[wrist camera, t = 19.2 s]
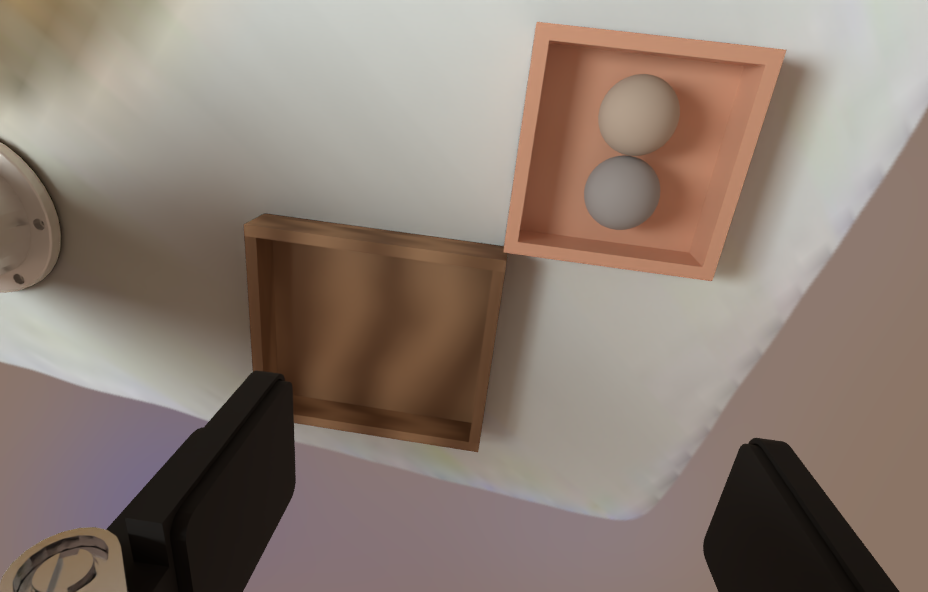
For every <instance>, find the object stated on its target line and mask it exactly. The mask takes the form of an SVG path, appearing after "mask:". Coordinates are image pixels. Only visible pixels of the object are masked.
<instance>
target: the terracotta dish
mask: <svg viewBox="0 0 928 592" xmlns="http://www.w3.org/2000/svg"><path fill="white" fill-rule="evenodd" d="M785 53H786V50H783V49H774V48H765V47H756V46H747V45H738V44H729V43H721V42H712V41H703V40H694V39H685V38H676V37H667V36H658V35H649V34H640V33H631V32H622V31H614V30H605V29H596V28H587V27H578V26H569V25H560V24H551V23H542V22H537V24H536V28H535V35H534V42H533V49H532V56H531V63H530V70H529V77H528V83H527V90H526V97H525V104H524V111H523V118H522V125H521V132H520V138H519V145H518V152H517V159H516V166H515V173H514V180H513V187H512V194H511V200H510V207H509V214H508V221H507V228H506V235H505V243H504V251H503V252H504V253H511V254H519V255H526V256H533V257H540V258H548V259H555V260H562V261H570V262H577V263H584V264H591V265H599V266H606V267H613V268H620V269H628V270H635V271H642V272H650V273H657V274H664V275H671V276H679V277H686V278H693V279H700V280H708V281H712V280H713V277H714V274H715V271H716V268H717V264H718V261H719V258H720V255H721V252H722V249H723V246H724V243H725V240H726V236H727V233H728V230H729V227H730V224H731V221H732V218H733V215H734V212H735V209H736V205H737V202H738V199H739V196H740V193H741V190H742V187H743V184H744V181H745V177H746V174H747V171H748V168H749V165H750V162H751V159H752V156H753V153H754V149H755V146H756V143H757V140H758V137H759V134H760V131H761V128H762V125H763V122H764V118H765V115H766V112H767V109H768V106H769V103H770V100H771V97H772V94H773V90H774V87H775V84H776V81H777V78H778V75H779V72H780V69H781V66H782V62H783V59H784V56H785ZM637 74H649V75H654V76H657V77H659V78H661V79H663V80H665V81H666V82H667V83H668V84H669V85H670V86H671V87H672V88H673V90H674V91H675V93H676V95H677V97H678V100H679V105H680V117H679V122H678V125H677V127H676V130H675V132H674V133H673V135H672V136H671V138H670V139H669V140H668V141H667V142H666V143H665V144H664V145H663V146H662V147H660V148H659V149H657V150H656V151H654V152H652V153H649V154H646V155H641V156H633V157H636V158H639V159H641V160H643V161H645V162H646V163H648V164H649V165H650V166H651V167H652V168H653V170H654V171H655V173H656V175H657V177H658V179H659V183H660V198H659V202H658V205H657V207H656V209H655V211H654V212H653V214H652V215H651V216H650V217H649V218H648V219H647V220H646V221H645V222H643V223H642V224H640V225H638V226H636V227H634V228H630V229H626V230H615V229H610V228H607V227H604V226H602V225H601V224H599V223H598V222H597V221H595V220H594V219H593V218H592V216H591V215H590V214H589V212H588V210H587V208H586V205H585V200H584V189H585V185H586V182H587V179H588V177H589V175H590V174H591V172H592V171H593V170H594V169H595V168H596V167H597V166H598V165H599V164H600V163H602V162H603V161H605V160H607V159H609V158H612V157H615V156H622V155H625V154H622V153H619V152H617V151H615V150H614V149H612V148H611V147H610V146H609V145H608V144H607V143H606V142H605V140H604V138H603V137H602V135H601V132H600V129H599V123H598V115H599V109H600V106H601V103H602V101H603V99H604V97H605V95H606V94H607V92H608V91H609V90H610V89H611V88H612V87H613V86H614V85H615V84H616V83H618V82H619V81H621V80H623V79H624V78H627V77H629V76H633V75H637ZM626 156H629V155H626Z"/></svg>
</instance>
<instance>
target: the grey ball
mask: <svg viewBox="0 0 928 592" xmlns="http://www.w3.org/2000/svg"><path fill="white" fill-rule="evenodd" d="M659 198H660V183H659V179H658V177H657V175H656V173H655V171H654V170H653V168H652V167H651V166H650V165H649V164H648V163H646V162H645V161H643V160H641V159H639V158H636V157H633V156H626V155H622V156H615V157H612V158H609V159H607V160H605V161H603V162H602V163H600V164H599V165H598V166H597V167H596V168H595V169H594V170H593V171H592V172H591V174H590V175H589V177H588V179H587V182H586V185H585V189H584V200H585V205H586V208H587V210H588V212H589V214H590V215H591V216H592V218H593V219H594V220H595V221H597V222H598V223H599V224H601V225H602V226H604V227H607V228H610V229H615V230H626V229H630V228H634V227H636V226H638V225H640V224H642V223H643V222H645V221H646V220H647V219H648V218H649V217H650V216H651V215H652V214H653V212H654V211H655V209H656V207H657V205H658V202H659Z"/></svg>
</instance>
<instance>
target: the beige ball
mask: <svg viewBox="0 0 928 592" xmlns="http://www.w3.org/2000/svg"><path fill="white" fill-rule="evenodd" d="M679 117H680V105H679V100H678V97H677V95H676V93H675V91H674V90H673V88H672V87H671V86H670V85H669V84H668V83H667V82H666V81H665V80H663V79H661V78H659V77H657V76H654V75H649V74H637V75H633V76H629V77H627V78H624V79H623V80H621V81H619V82H618V83H616V84H615V85H614V86H613V87H612V88H611V89H610V90H609V91H608V92H607V94H606V95H605V97H604V99H603V101H602V103H601V106H600V109H599V115H598V123H599V129H600V132H601V135H602V137H603V138H604V140H605V142H606V143H607V144H608V145H609V146H610V147H611V148H612V149H614V150H615V151H617V152H619V153H622V154H625V155H629V156H641V155H646V154H649V153H652V152H654V151H656V150H657V149H659V148H660V147H662V146H663V145H664V144H665V143H666V142H667V141H668V140H669V139H670V138H671V136H672V135H673V133H674V132H675V130H676V127H677V125H678V122H679Z"/></svg>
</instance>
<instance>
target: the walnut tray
mask: <svg viewBox="0 0 928 592" xmlns="http://www.w3.org/2000/svg"><path fill="white" fill-rule="evenodd" d="M244 237H245V253H246V269H247V285H248V301H249V317H250V333H251V349H252V365H253V371H256V370H257V371H265V372H272V373H280V374H283V375H284V378H285V381H287V382H291V383H292V387H293V415H294V423H298V424H304V425H311V426H317V427H323V428H329V429H336V430H342V431H348V432H354V433H361V434H367V435H373V436H379V437H386V438H392V439H398V440H405V441H411V442H417V443H423V444H430V445H436V446H442V447H448V448H455V449H461V450H467V451H474V452H478V450H479V443H480V436H481V430H482V423H483V416H484V409H485V403H486V396H487V389H488V383H489V376H490V369H491V363H492V356H493V349H494V343H495V336H496V329H497V322H498V316H499V309H500V302H501V296H502V289H503V282H504V276H505V269H506V262H507V253H504V252H503V251H504V246H498V245H491V244H483V243H476V242H469V241H461V240H454V239H447V238H439V237H432V236H425V235H418V234H410V233H403V232H396V231H388V230H381V229H374V228H366V227H359V226H352V225H344V224H337V223H330V222H323V221H315V220H308V219H301V218H293V217H286V216H279V215H271V214H263V215H261V216H259V217H257V218H255V219H253V220H251V221H249V222H247V223H246V224H244Z"/></svg>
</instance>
